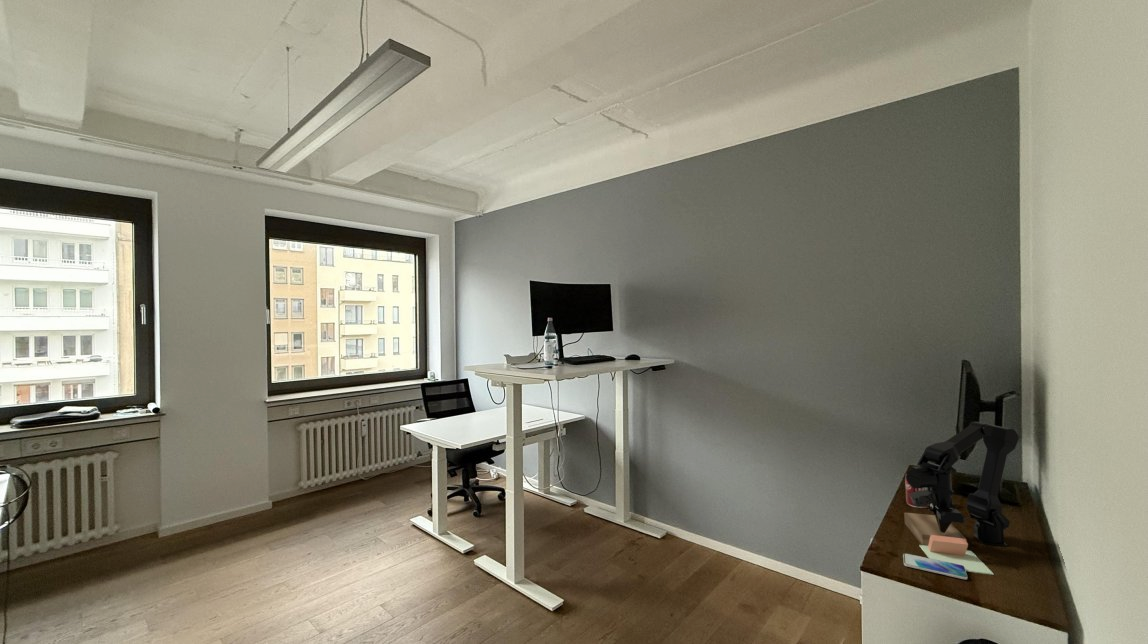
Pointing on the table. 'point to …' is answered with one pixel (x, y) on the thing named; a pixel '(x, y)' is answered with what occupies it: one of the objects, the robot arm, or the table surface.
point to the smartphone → (935, 566)
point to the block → (948, 545)
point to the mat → (960, 560)
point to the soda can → (910, 490)
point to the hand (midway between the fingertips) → (942, 532)
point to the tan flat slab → (928, 527)
